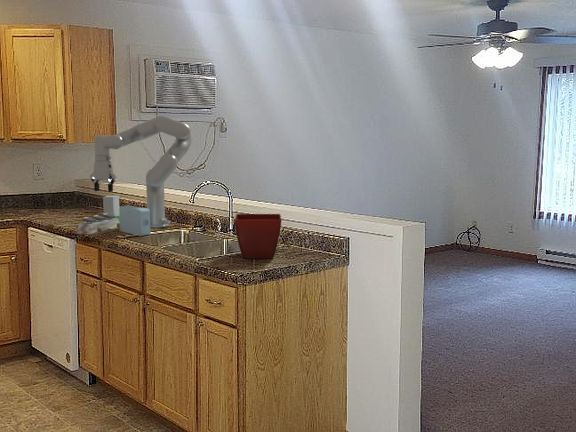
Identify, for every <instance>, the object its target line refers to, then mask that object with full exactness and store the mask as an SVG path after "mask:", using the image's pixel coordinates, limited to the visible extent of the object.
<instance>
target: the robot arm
mask: <svg viewBox="0 0 576 432" xmlns="http://www.w3.org/2000/svg"><path fill="white" fill-rule="evenodd" d="M161 133H164V134H166V135H169V136H171V137H174V138H175V140H174V142H173V143H172V145H171V146H170V147H169V149H167V150H166V152H165V153H164V154H163V155H162V156H160V159H159V160H158V161H157V162H156V163H155V165H154V166H152V168H151V169H149V170H148V171H147V172H146V175H145V184H146V187H145V189H146V209H149V210H150V229H151V228H153V229H154V228H166V227H168V226H169V225H170V224H171V221H172V220H169V219H168V217H166V209H165V207H166V206H165V204H166V203H165V202H166V201H165V182H166V181H167V180H168V178H169V177H170V176H171V175H172V174H173V172H175V170H176V169H177V167H178V164H179V162H180V161H181V160H182V159H183V158H184V156H185V155H186V154H187V152H188V151H189V150H190V147H191V144H192V135H191V128H190V126H189V125H188V124H186V123H184V122H181V121H179V120H175V119H173V118H170V117H168V116H167V115H163V114H161V115H158V116H156V117H153V118H150V119H149V120H145V121H143V122H140V123H138V124H136V125H134V126H131V128H129V129H126V130H124V131H121V132H119V133H116V134H114V135H113V134H112V135H104V134H103V135H95V136H94V137H93V141H94V144H93V145H94V162H93V173H92V174H90V175H89V177H90V180H91V182H92V184H93V185H94V186H93V187H94V192H98V191H100V183H99V182H100V181H106V182H107V183H108V184H107V191H108V192H109V193H110V192H113V191H114V183H115V182H116V179H117V175H116V174H115V173H114V169H113V164H112V161H111V159H112V158H111V156H110V150H119V149H121V148H124V147H125V146H128V145H130V144H133V143H135V142H139V141H143V140H146V139H148V138H151V137H153V136H155V135H158V134H161Z"/></svg>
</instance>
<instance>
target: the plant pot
mask: <svg viewBox="0 0 576 432" xmlns="http://www.w3.org/2000/svg"><path fill="white" fill-rule="evenodd" d="M234 225H235V231H236V232H235V233H236V238H237V243H238V247H239V250H240V253H241V257H242V259H273V258H274V257H275V254H276V251H277V248H278V247H277V246H278V243H279V238H280V233H281V228H282V216H281V214H280V213H236V214H235V217H234Z"/></svg>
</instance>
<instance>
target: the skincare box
mask: <svg viewBox="0 0 576 432" xmlns="http://www.w3.org/2000/svg"><path fill="white" fill-rule="evenodd" d="M102 203H103V206H102V208H103V214H105V213H107V214H111V215H114V216H116V217H115V219H119V223H120V216H119V207H120V196H119V195H106V196H102ZM105 218H106V217H105Z"/></svg>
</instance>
